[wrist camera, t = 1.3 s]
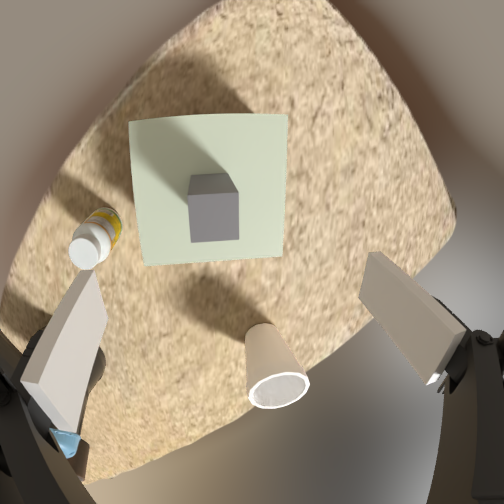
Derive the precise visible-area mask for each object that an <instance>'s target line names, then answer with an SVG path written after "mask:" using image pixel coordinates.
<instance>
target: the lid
mask: <svg viewBox="0 0 504 504" xmlns="http://www.w3.org/2000/svg"><path fill="white" fill-rule="evenodd" d="M128 123H129V145H130V160H131V172H132V183H133V193H134V201H135V210H136V217H137V225H138V231H139V238H140V244H141V250H142V256H143V262H144V266H155V265H169V264H183V263H198V262H211V261H225V260H239V259H252V258H266V257H279V256H282V253H283V235H284V216H285V194H286V167H287V132H288V115H283V114H250V113H234V114H201V115H184V116H172V117H161V118H152V119H143V120H135V121H128Z"/></svg>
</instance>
